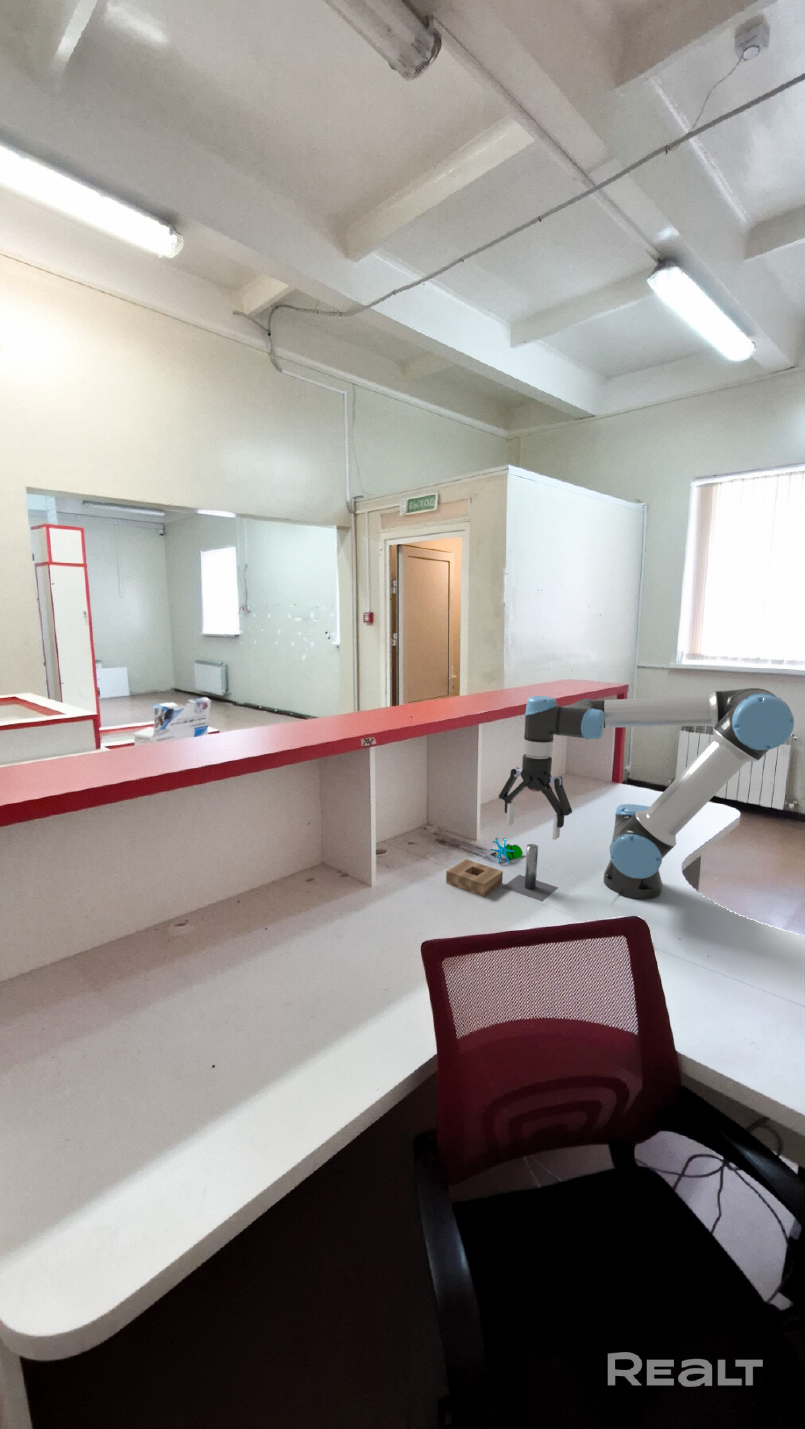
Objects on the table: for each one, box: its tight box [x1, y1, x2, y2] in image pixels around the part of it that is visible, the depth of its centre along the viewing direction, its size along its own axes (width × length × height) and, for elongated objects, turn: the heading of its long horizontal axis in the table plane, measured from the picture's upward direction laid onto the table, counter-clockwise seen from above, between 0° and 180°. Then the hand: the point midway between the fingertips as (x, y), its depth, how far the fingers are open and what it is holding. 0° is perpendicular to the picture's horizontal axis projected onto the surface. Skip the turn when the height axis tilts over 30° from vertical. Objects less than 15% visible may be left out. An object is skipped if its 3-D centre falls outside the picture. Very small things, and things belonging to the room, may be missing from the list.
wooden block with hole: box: [445, 858, 504, 898], centre depth 162 cm, size 12×10×4 cm
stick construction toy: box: [489, 837, 524, 864], centre depth 180 cm, size 12×7×8 cm
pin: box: [524, 843, 539, 890], centre depth 159 cm, size 3×3×12 cm
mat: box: [501, 874, 559, 902], centre depth 160 cm, size 12×10×1 cm
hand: (532, 831), depth 157 cm, fingers open, 13 cm apart
